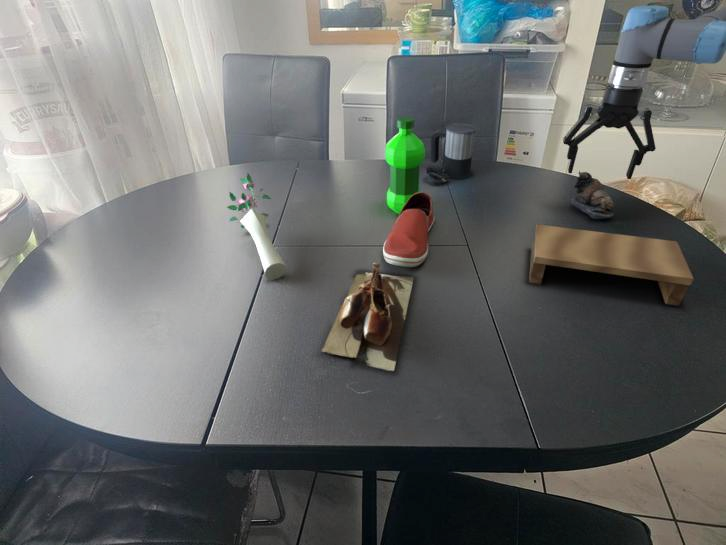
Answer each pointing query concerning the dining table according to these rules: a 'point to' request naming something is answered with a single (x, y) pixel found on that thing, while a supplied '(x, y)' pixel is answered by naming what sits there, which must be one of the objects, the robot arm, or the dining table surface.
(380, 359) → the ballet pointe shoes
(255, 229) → the flower vase
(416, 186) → the plastic bottle
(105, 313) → the dining table surface
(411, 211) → the slip on shoe
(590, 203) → the bison figurine
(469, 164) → the milk frother
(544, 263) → the oak shelf
